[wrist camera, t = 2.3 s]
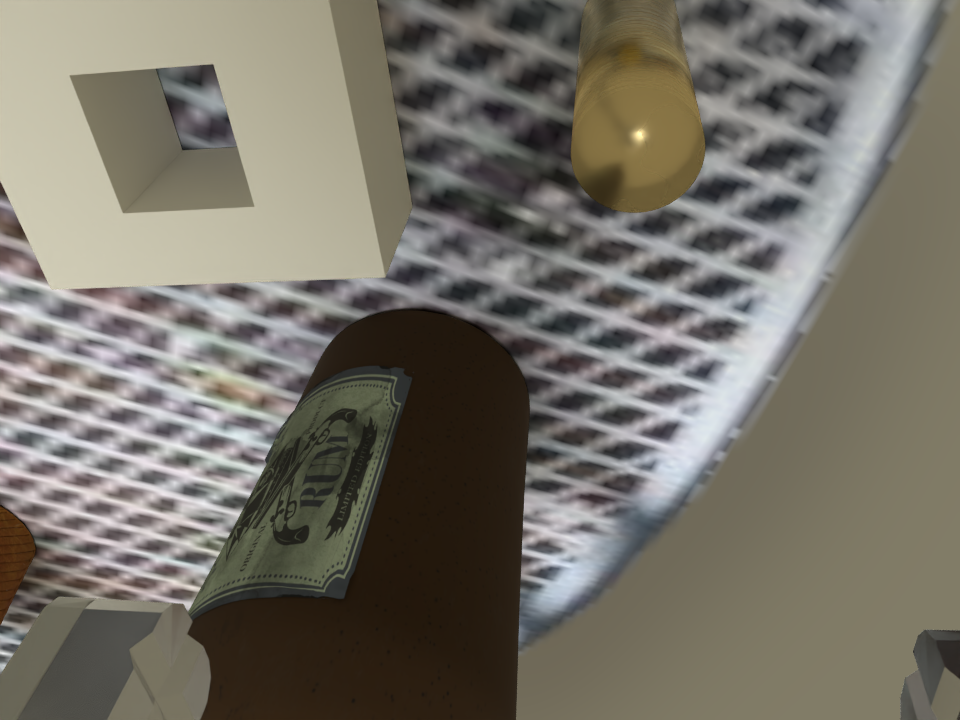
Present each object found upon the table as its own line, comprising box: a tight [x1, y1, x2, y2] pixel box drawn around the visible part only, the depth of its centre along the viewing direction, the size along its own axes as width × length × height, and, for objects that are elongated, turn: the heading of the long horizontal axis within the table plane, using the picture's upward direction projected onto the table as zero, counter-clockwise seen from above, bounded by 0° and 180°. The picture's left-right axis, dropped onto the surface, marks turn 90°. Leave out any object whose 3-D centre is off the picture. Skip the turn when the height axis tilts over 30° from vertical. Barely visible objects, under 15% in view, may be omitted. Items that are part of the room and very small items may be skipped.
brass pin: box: [571, 0, 705, 213], centre depth 24 cm, size 3×3×10 cm
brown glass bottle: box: [187, 310, 530, 720], centre depth 28 cm, size 11×11×25 cm
